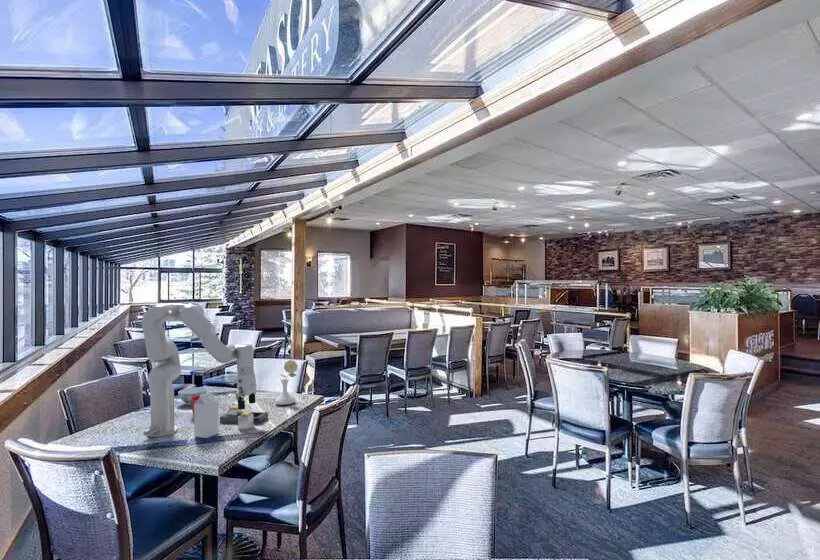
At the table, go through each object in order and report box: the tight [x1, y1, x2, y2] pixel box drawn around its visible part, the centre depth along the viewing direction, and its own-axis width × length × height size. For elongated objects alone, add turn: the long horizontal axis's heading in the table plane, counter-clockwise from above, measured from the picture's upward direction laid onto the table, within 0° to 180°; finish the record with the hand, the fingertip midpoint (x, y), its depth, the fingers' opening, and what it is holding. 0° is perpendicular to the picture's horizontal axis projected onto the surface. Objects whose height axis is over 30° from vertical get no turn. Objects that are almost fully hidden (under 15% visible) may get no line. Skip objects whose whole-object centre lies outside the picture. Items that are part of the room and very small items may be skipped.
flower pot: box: [190, 395, 200, 417], centre depth 222 cm, size 11×11×10 cm
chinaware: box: [177, 386, 208, 406], centre depth 245 cm, size 15×15×8 cm
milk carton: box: [193, 391, 220, 439], centre depth 192 cm, size 7×7×19 cm
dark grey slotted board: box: [219, 411, 269, 425], centre depth 212 cm, size 9×21×3 cm, turn 82°
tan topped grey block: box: [226, 405, 243, 416], centre depth 213 cm, size 5×5×7 cm
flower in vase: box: [274, 359, 299, 406], centre depth 242 cm, size 13×11×25 cm
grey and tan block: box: [237, 411, 254, 431], centre depth 201 cm, size 5×5×7 cm
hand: (247, 406), depth 201 cm, fingers open, 9 cm apart
